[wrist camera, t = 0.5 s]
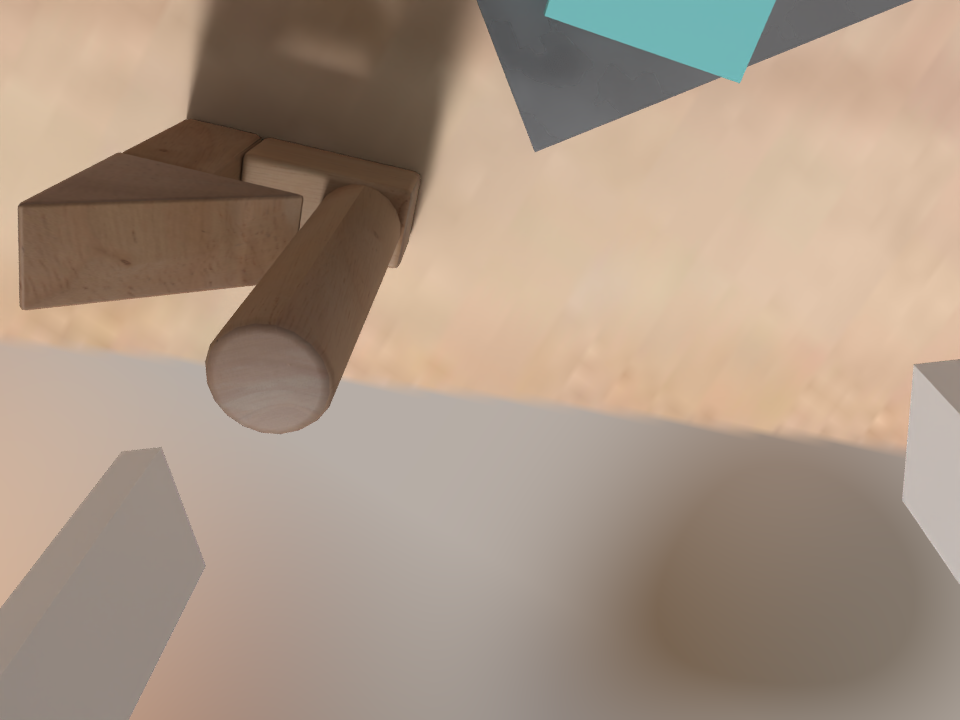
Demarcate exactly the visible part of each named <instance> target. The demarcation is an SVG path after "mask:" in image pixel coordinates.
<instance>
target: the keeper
mask: <svg viewBox="0 0 960 720" xmlns="http://www.w3.org/2000/svg"><path fill="white" fill-rule="evenodd" d="M775 1H776V0H548V1H547V4H546V7H545V10H544V16H546V17H549V18H552V19H555V20H558V21H561V22H564V23H566V24H569V25H572V26H575V27H578V28H581V29H584V30H587V31H590V32H593V33H595V34H598V35H601V36H604V37H607V38H610V39H613V40H616V41H619V42H622V43H624V44H627V45H630V46H633V47H636V48H639V49H642V50H645V51H648V52H651V53H653V54H656V55H659V56H662V57H665V58H668V59H671V60H674V61H677V62H680V63H682V64H685V65H688V66H691V67H694V68H697V69H700V70H703V71H706V72H709V73H712V74H714V75H717V76H720V77H723V78H726V79H729V80H732V81H735V82H738V83H740V82H741V79H742V77H743V75H744V72H745V70H746V68H747V66H748V63H749V61H750V59H751V56H752V54H753V52H754V50H755V47H756V45H757V43H758V40H759V38H760V36H761V33H762V31H763V29H764V27H765V24H766V22H767V20H768V17H769V15H770V13H771V10H772V8H773V6H774V4H775Z"/></svg>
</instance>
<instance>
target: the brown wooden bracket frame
mask: <svg viewBox="0 0 960 720" xmlns="http://www.w3.org/2000/svg"><path fill="white" fill-rule="evenodd" d="M420 180H421V179H420V175H419V174H418V173H416V172H414V171H410V170H406V169H401V168H397V167H393V166H389V165H384V164H380V163H376V162H372V161H367V160H363V159H359V158H355V157H350V156H346V155H342V154H338V153H334V152H329V151H325V150H321V149H317V148H312V147H308V146H304V145H300V144H295V143H291V142H287V141H283V140H278V139H274V138H265V139H264V140H263V141H262V139H261V137H259V136H258V135H256V134H253V133H249V132H245V131H241V130H236V129H232V128H228V127H224V126H219V125H215V124H211V123H207V122H202V121H198V120H194V119H188V120H184V121H182V122H180V123H178V124H177V125H175V126H173V127H171V128H169V129H167V130H165V131H163V132H161V133H159V134H157V135H155V136H153V137H151V138H150V139H148V140H146V141H144V142H142V143H140V144H138V145H136V146H134V147H132V148H130V149H128V150H126V151H125V152H123V153H116V154H114V155H112V156H110V157H108V158H107V159H105V160H103V161H101V162H99V163H97V164H95V165H93V166H91V167H89V168H87V169H85V170H83V171H81V172H79V173H77V174H75V175H74V176H72V177H70V178H68V179H66V180H64V181H62V182H60V183H58V184H56V185H54V186H52V187H50V188H48V189H46V190H44V191H42V192H41V193H39V194H37V195H35V196H33V197H31V198H29V199H27V200H25V201H23V202H21V203H20V204H19V206H18V242H19V298H20V307H21V309H22V310H33V309H42V308H51V307H60V306H69V305H79V304H88V303H97V302H106V301H115V300H124V299H134V298H143V297H152V296H161V295H170V294H180V293H189V292H198V291H207V290H216V289H225V288H235V287H244V286H253V285H256V286H255V288H254V289H253V290H252V292H251V293H250V294H249V295H248V297H247V298H246V299H245V300H244V302H243V303H242V304H241V306H240V307H239V308H238V309H237V311H236V312H235V313H234V315H233V316H232V317H231V318H230V320H229V321H228V322H227V323H226V325H225V326H224V327H223V329H222V330H221V331H220V333H219V334H218V335H217V336H216V338H215V339H214V340H213V342H212V343H211V344H210V347H209V351H208V354H207V358H206V361H205V364H206V375H207V384H208V386H209V388H210V391H211V393H212V395H213V398H214V400H215V401H216V403H217V404H218V405H219V406H220V407H221V408H222V410H223V411H224V412H225V413H226V414H227V415H228V416H229V417H231V418H232V419H234V420H235V421H237V422H238V423H239V424H241V425H242V426H244V427H247V428H251V429H253V430H256V431H259V432H263V433H274V434H283V433H287V432H293V431H298V430H300V429H302V428H304V427H306V426H308V425H309V424H311V423H313V422H315V421H317V420H318V419H319V418H320V417H321V416H322V414H323V413H324V412H325V411H326V410H327V409H328V408H329V406H330V404H331V401H332V399H333V396H334V394H335V392H336V389H337V387H338V385H339V382H340V380H341V377H342V375H343V373H344V370H345V368H346V366H347V363H348V361H349V358H350V356H351V354H352V351H353V349H354V346H355V344H356V342H357V339H358V337H359V334H360V332H361V330H362V327H363V325H364V323H365V320H366V318H367V315H368V313H369V311H370V308H371V306H372V303H373V301H374V299H375V296H376V294H377V292H378V289H379V287H380V284H381V282H382V280H383V277H384V275H385V272H386V270H387V268H388V267H389V268H397V267H398V266H399V264H400V262H401V260H402V257H403V255H404V252H405V249H406V247H407V244H408V242H409V236H410V231H411V226H412V221H413V216H414V211H415V206H416V201H417V196H418V191H419V186H420Z"/></svg>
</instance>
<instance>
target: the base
mask: <svg viewBox="0 0 960 720" xmlns="http://www.w3.org/2000/svg"><path fill="white" fill-rule="evenodd" d="M547 1H548V0H477V3H478V5H479V8H480V10H481V13H482V16H483V18H484V21H485V23H486V26H487V29H488V31H489V34H490V36H491V39H492V42H493V44H494V47H495V49H496V52H497V55H498V57H499V60H500V63H501V65H502V68H503V70H504V73H505V76H506V78H507V81H508V83H509V86H510V89H511V91H512V94H513V96H514V99H515V102H516V104H517V107H518V109H519V112H520V115H521V117H522V120H523V122H524V125H525V128H526V130H527V133H528V136H529V138H530V141H531V143H532V146H533V149H534V151H535V152H536V151H539V150H541V149H544V148H546V147H549V146H551V145H554V144H556V143H559V142H561V141H564V140H566V139H569V138H571V137H574V136H576V135H579V134H581V133H584V132H586V131H589V130H591V129H594V128H596V127H599V126H601V125H604V124H606V123H609V122H611V121H613V120H616V119H618V118H621V117H623V116H626V115H628V114H631V113H633V112H636V111H638V110H641V109H643V108H646V107H648V106H651V105H653V104H656V103H658V102H661V101H663V100H666V99H668V98H671V97H673V96H676V95H678V94H681V93H683V92H686V91H688V90H690V89H693V88H695V87H698V86H700V85H703V84H705V83H708V82H710V81H713V80H715V79H718V78H720V76H717V75H714V74H712V73H709V72H706V71H703V70H700V69H697V68H694V67H691V66H688V65H685V64H682V63H680V62H677V61H674V60H671V59H668V58H665V57H662V56H659V55H656V54H653V53H651V52H648V51H645V50H642V49H639V48H636V47H633V46H630V45H627V44H624V43H622V42H619V41H616V40H613V39H610V38H607V37H604V36H601V35H598V34H595V33H593V32H590V31H587V30H584V29H581V28H578V27H575V26H572V25H569V24H566V23H564V22H561V21H558V20H555V19H552V18H549V17H546V16H544V10H545V7H546V4H547ZM909 1H912V0H776V1H775V4H774V6H773V8H772V10H771V13H770V15H769V17H768V20H767V22H766V24H765V27H764V29H763V31H762V33H761V36H760V38H759V40H758V43H757V45H756V47H755V50H754V52H753V54H752V56H751V59H750V61H749V63H748V66H750V65H753V64H755V63H758V62H760V61H763V60H765V59H768V58H770V57H772V56H775V55H777V54H780V53H782V52H785V51H787V50H790V49H792V48H795V47H797V46H800V45H802V44H805V43H807V42H810V41H812V40H815V39H817V38H820V37H822V36H825V35H827V34H830V33H832V32H835V31H837V30H840V29H842V28H845V27H847V26H849V25H852V24H854V23H857V22H859V21H862V20H864V19H867V18H869V17H872V16H874V15H877V14H879V13H882V12H884V11H887V10H889V9H892V8H894V7H897V6H899V5H902V4H904V3H907V2H909ZM748 66H747V67H748Z"/></svg>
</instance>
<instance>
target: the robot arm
mask: <svg viewBox="0 0 960 720" xmlns="http://www.w3.org/2000/svg"><path fill="white" fill-rule="evenodd" d="M902 500H903V502H904V503H905V505H906V506H907V508H908V509H909V511H910V512H911V514H912V515H913V517H914V518H915V519H916V521H917V522H918V524H919V525H920V527H921V528H922V530H923V531H924V533H925V534H926V536H927V537H928V539H929V540H930V541H931V543H932V544H933V546H934V547H935V549H936V550H937V552H938V553H939V555H940V556H941V558H942V559H943V561H944V562H945V564H946V565H947V567H948V568H949V569H950V571H951V572H952V574H953V575H954V577H955V578H956V580H957V581H958V583H959V584H960V359H958V360H949V361H940V362H931V363H922V364H914V367H913V379H912V391H911V403H910V415H909V427H908V439H907V451H906V463H905V475H904V486H903V499H902ZM204 568H205V562H204V560H203V557H202V554H201V552H200V549H199V546H198V544H197V541H196V538H195V536H194V533H193V530H192V528H191V525H190V522H189V519H188V517H187V514H186V511H185V509H184V506H183V503H182V501H181V498H180V495H179V493H178V490H177V487H176V485H175V482H174V479H173V476H172V474H171V471H170V469H169V466H168V464H167V461H166V458H165V455H164V452H163V450H162V447H159V448H150V449H142V450H132V451H124V452H121V454H120V455H119V456H118V457H117V459H116V460H115V461H114V462H113V464H112V465H111V466H110V468H109V469H108V470H107V472H106V473H105V474H104V475H103V477H102V478H101V479H100V481H99V482H98V483H97V484H96V486H95V487H94V488H93V489H92V491H91V492H90V493H89V495H88V496H87V497H86V498H85V500H84V501H83V502H82V504H81V505H80V506H79V508H78V509H77V510H76V511H75V513H74V514H73V515H72V517H71V518H70V519H69V521H68V522H67V523H66V524H65V526H64V527H63V528H62V529H61V531H60V532H59V533H58V535H57V536H56V537H55V539H54V540H53V541H52V542H51V544H50V545H49V546H48V547H47V549H46V550H45V551H44V553H43V554H42V555H41V557H40V558H39V559H38V560H37V562H36V563H35V564H34V566H33V567H32V568H31V569H30V571H29V572H28V573H27V575H26V576H25V577H24V579H23V580H22V581H21V583H20V584H19V585H18V586H17V587H16V589H15V590H14V591H13V593H12V594H11V595H10V597H9V598H8V599H7V600H6V602H5V603H4V604H3V606H2V607H1V608H0V720H129V718H130V716H131V714H132V712H133V710H134V708H135V706H136V704H137V702H138V700H139V698H140V696H141V694H142V692H143V690H144V688H145V686H146V684H147V682H148V680H149V678H150V676H151V674H152V672H153V670H154V668H155V666H156V664H157V662H158V660H159V658H160V656H161V654H162V652H163V650H164V648H165V646H166V644H167V642H168V640H169V638H170V636H171V634H172V632H173V630H174V628H175V626H176V624H177V622H178V620H179V618H180V616H181V614H182V612H183V610H184V608H185V606H186V604H187V602H188V600H189V598H190V596H191V594H192V592H193V590H194V588H195V586H196V584H197V582H198V580H199V578H200V576H201V574H202V572H203V570H204Z"/></svg>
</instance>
